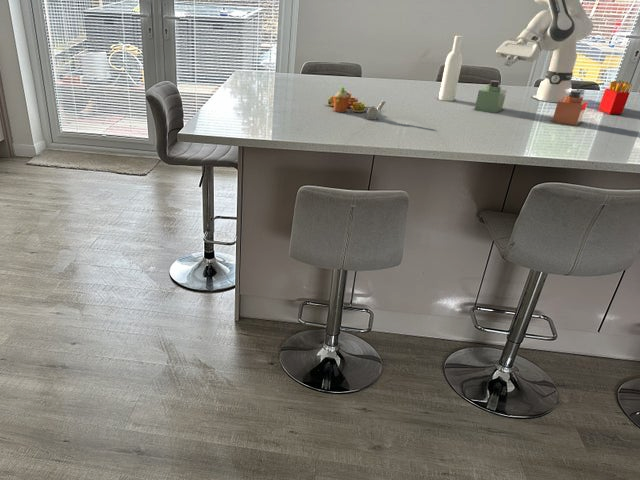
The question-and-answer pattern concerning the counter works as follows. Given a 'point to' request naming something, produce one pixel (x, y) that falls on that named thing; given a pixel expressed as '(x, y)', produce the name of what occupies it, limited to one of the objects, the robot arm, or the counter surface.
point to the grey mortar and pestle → (374, 111)
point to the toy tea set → (345, 102)
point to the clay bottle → (569, 110)
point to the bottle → (451, 72)
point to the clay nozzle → (575, 94)
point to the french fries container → (615, 98)
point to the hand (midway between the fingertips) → (507, 65)
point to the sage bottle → (490, 99)
